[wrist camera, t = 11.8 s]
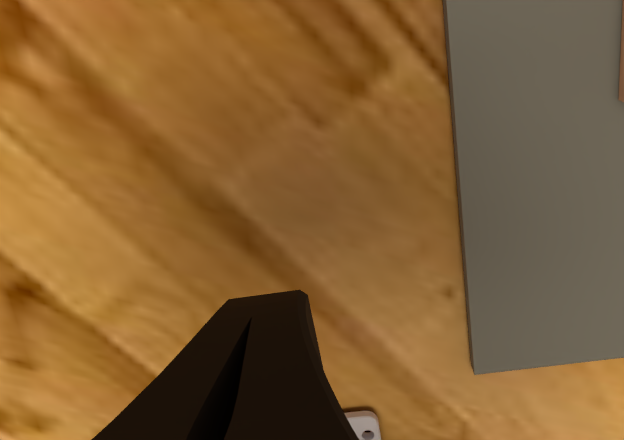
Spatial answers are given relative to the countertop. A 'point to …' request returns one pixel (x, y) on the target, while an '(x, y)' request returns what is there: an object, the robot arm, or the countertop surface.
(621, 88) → the tile
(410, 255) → the countertop surface
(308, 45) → the countertop surface
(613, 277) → the mat
